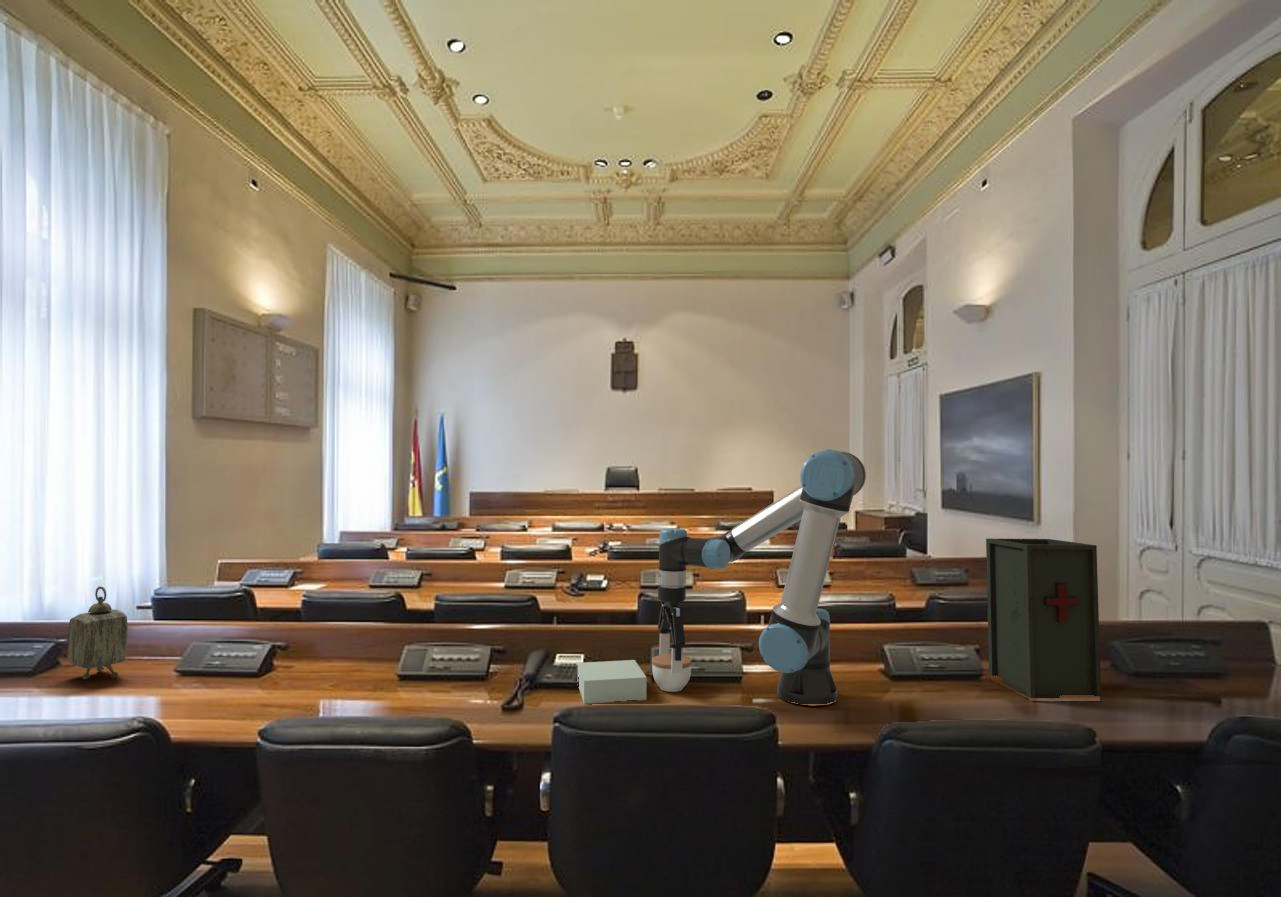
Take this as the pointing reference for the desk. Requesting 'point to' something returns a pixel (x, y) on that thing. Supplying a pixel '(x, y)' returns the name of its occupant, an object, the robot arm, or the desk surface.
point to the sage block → (611, 681)
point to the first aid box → (1043, 616)
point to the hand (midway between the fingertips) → (670, 664)
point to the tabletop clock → (98, 637)
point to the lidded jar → (670, 673)
